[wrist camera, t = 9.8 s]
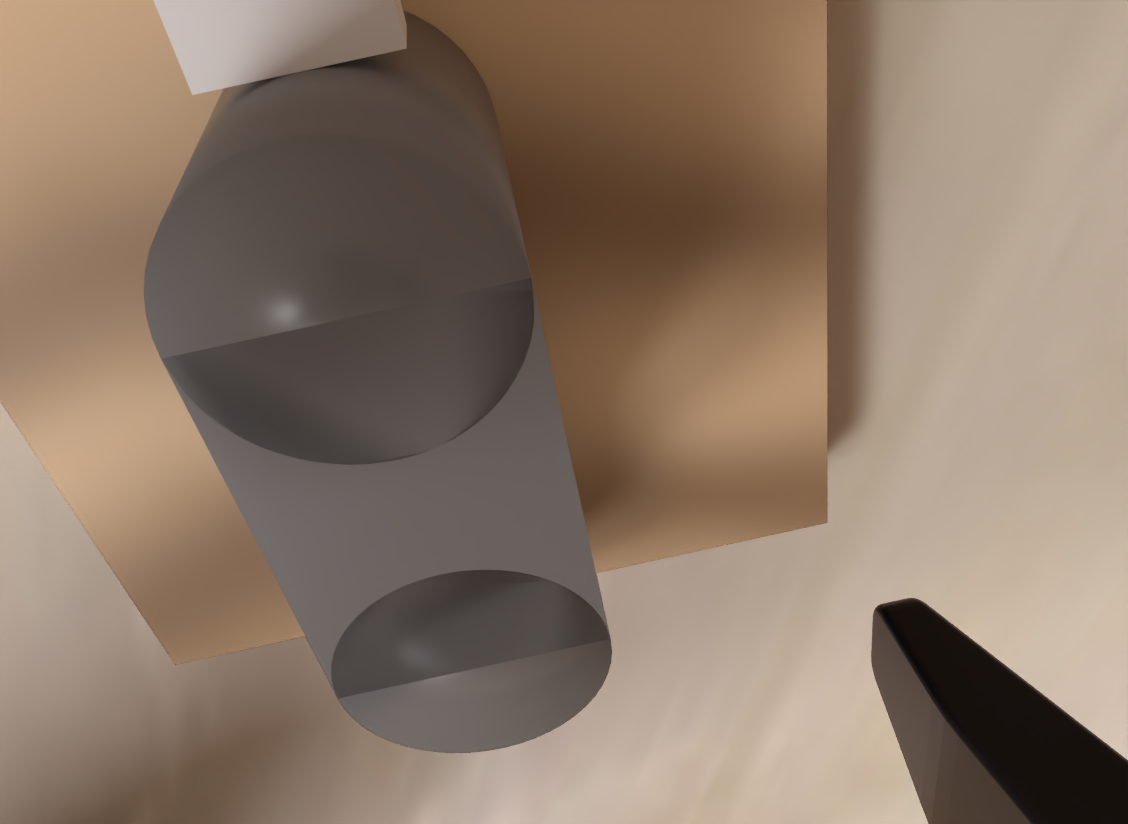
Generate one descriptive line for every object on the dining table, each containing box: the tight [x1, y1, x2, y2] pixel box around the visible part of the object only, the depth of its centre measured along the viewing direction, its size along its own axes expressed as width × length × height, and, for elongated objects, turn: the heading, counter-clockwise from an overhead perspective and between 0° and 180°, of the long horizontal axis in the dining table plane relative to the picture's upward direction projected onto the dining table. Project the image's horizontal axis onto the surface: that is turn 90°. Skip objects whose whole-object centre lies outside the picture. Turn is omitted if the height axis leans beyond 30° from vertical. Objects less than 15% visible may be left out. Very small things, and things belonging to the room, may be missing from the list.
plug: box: [144, 0, 612, 753], centre depth 14 cm, size 14×4×5 cm, turn 10°
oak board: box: [0, 0, 827, 665], centre depth 16 cm, size 16×14×2 cm
